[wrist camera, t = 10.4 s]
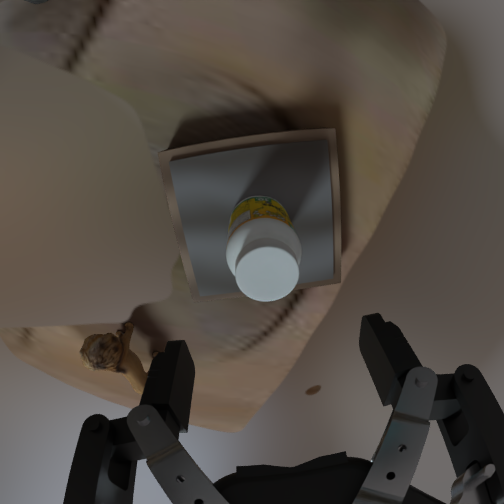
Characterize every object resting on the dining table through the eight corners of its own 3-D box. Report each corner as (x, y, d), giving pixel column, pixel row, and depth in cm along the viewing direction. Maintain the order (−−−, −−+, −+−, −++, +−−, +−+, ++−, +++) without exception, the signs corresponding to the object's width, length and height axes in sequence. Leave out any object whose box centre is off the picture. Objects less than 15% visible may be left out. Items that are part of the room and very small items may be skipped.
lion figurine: (92, 318, 36) (67, 361, 28) (112, 302, 35) (86, 347, 27) (162, 379, 41) (151, 424, 33) (185, 368, 40) (176, 416, 32)
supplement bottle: (217, 223, 26) (205, 276, 18) (258, 181, 25) (267, 216, 16) (259, 259, 28) (266, 323, 19) (300, 221, 26) (326, 273, 18)
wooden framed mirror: (167, 149, 27) (156, 153, 23) (324, 127, 26) (336, 128, 23) (198, 285, 34) (193, 305, 30) (332, 267, 33) (342, 285, 30)
